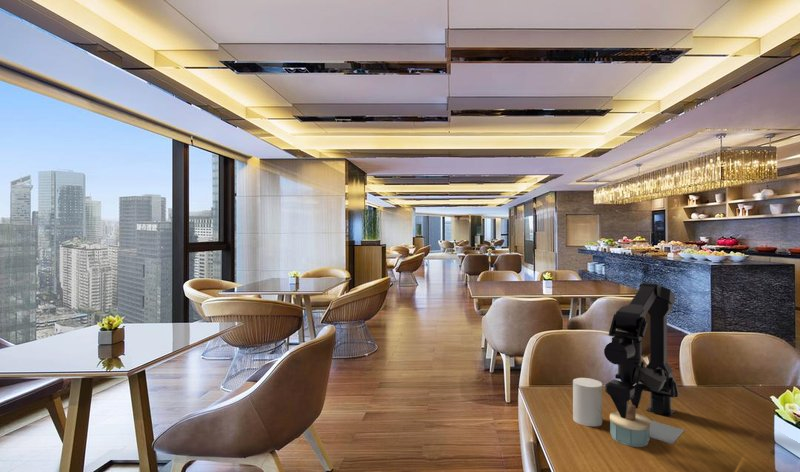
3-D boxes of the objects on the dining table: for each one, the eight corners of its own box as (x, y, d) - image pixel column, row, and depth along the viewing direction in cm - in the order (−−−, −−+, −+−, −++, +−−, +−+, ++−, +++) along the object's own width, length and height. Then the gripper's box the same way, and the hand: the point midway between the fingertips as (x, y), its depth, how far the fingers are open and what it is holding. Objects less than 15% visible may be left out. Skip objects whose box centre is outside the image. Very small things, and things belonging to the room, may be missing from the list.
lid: (617, 411, 126) (617, 396, 126) (655, 422, 118) (655, 405, 118) (604, 421, 119) (604, 405, 119) (643, 433, 111) (643, 416, 111)
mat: (639, 418, 132) (639, 417, 132) (684, 431, 124) (684, 430, 124) (624, 430, 124) (624, 429, 124) (672, 445, 115) (672, 444, 115)
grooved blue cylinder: (618, 429, 125) (618, 412, 125) (653, 440, 118) (653, 422, 118) (606, 439, 119) (606, 421, 119) (641, 451, 112) (641, 432, 112)
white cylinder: (605, 428, 125) (605, 387, 125) (575, 426, 127) (575, 386, 127) (598, 417, 133) (598, 378, 133) (570, 415, 135) (570, 377, 135)
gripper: (650, 370, 106) (650, 433, 106) (673, 355, 119) (673, 412, 119) (604, 361, 114) (604, 419, 114) (629, 348, 127) (630, 400, 127)
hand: (629, 413), depth 118 cm, fingers open, 9 cm apart
